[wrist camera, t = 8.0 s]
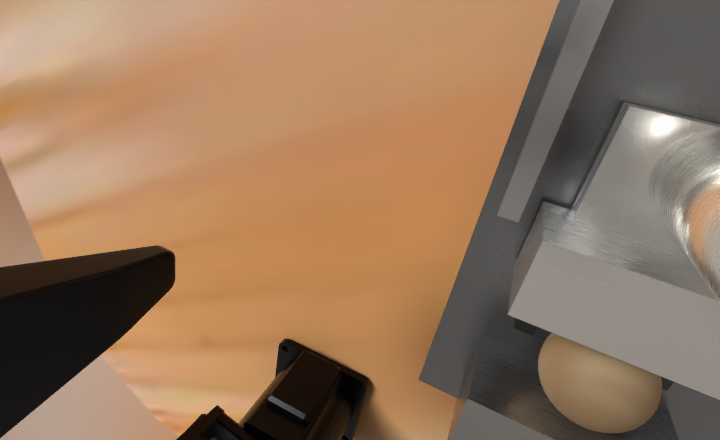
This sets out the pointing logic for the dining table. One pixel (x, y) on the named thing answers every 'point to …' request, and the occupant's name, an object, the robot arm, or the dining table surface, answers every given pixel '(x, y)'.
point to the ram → (635, 252)
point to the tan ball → (596, 386)
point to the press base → (561, 187)
